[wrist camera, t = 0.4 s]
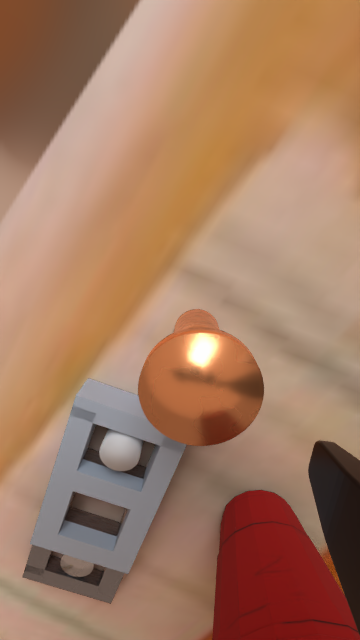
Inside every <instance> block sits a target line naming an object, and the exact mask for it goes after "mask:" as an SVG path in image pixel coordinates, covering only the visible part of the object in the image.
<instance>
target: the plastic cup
mask: <svg viewBox="0 0 360 640" xmlns="http://www.w3.org/2000/svg"><path fill="white" fill-rule="evenodd" d="M212 640H360V636H359V633H358V630H357V627H356V624H355V622H354V619H353V616H352V613H351V611H350V608H349V605H348V602H347V599H346V597H345V596H344V594H343V592H342V591H341V589H340V587H339V586H338V584H337V582H336V581H335V579H334V577H333V576H332V574H331V572H330V571H329V569H328V567H327V566H326V564H325V562H324V561H323V559H322V557H321V556H320V554H319V552H318V551H317V549H316V547H315V546H314V544H313V543H312V541H311V540H310V538H309V537H308V535H307V534H306V532H305V530H304V529H303V527H302V525H301V523H300V522H299V520H298V518H297V516H296V515H295V513H294V512H293V510H292V509H291V507H290V505H288V504H287V502H286V501H285V499H283V498H281V497H280V496H278V495H277V494H275V493H272V492H268V491H263V490H256V491H247V492H245V493H242V494H240V495H238V496H236V497H234V498H233V499H232V500H231V501H230V502H229V503H228V504H227V505H226V508H225V511H224V513H223V519H222V521H221V531H220V548H219V554H218V558H217V574H216V590H215V606H214V622H213V639H212Z"/></svg>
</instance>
